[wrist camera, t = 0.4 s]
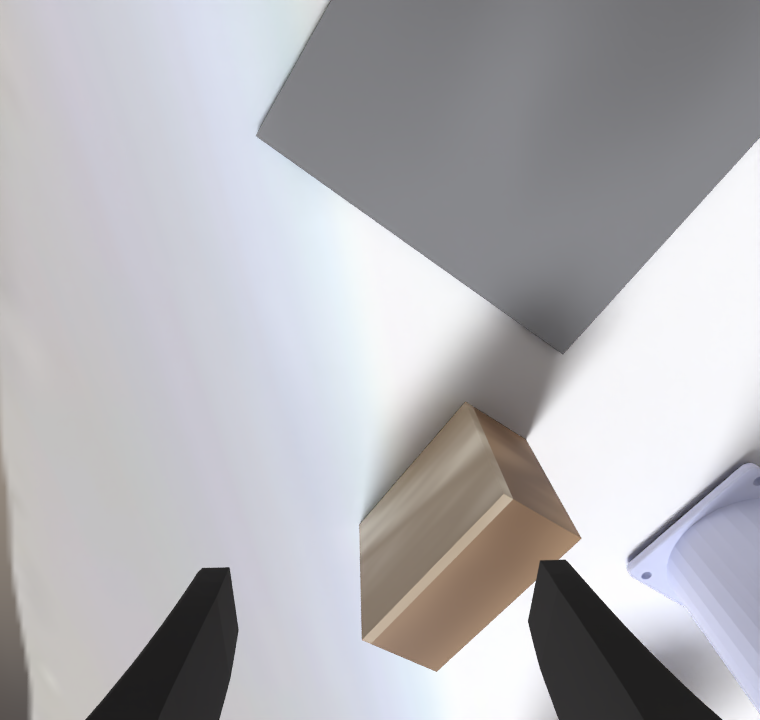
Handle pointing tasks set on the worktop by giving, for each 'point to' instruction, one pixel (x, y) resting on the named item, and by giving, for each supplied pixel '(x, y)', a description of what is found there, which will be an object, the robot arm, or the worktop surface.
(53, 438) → the worktop surface
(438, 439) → the brown wooden block
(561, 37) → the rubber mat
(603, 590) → the worktop surface
